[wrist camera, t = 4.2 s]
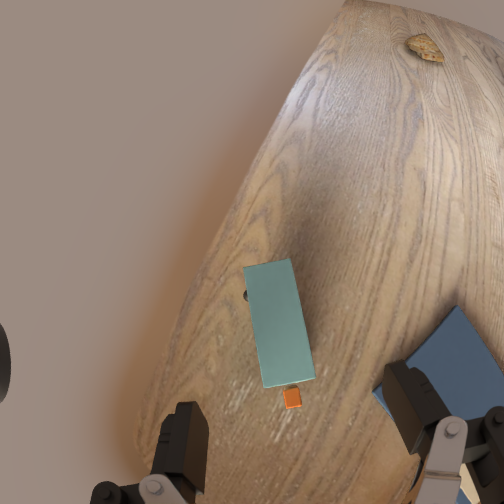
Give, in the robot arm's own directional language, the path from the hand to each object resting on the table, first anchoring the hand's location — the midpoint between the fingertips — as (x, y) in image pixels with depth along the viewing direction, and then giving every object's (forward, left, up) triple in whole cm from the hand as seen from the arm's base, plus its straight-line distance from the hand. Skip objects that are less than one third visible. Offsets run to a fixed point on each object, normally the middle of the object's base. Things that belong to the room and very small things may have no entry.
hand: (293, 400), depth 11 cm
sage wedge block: (+1, +3, -9) cm, 9 cm away
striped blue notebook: (+9, -13, -9) cm, 18 cm away
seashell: (+52, +24, -9) cm, 58 cm away
